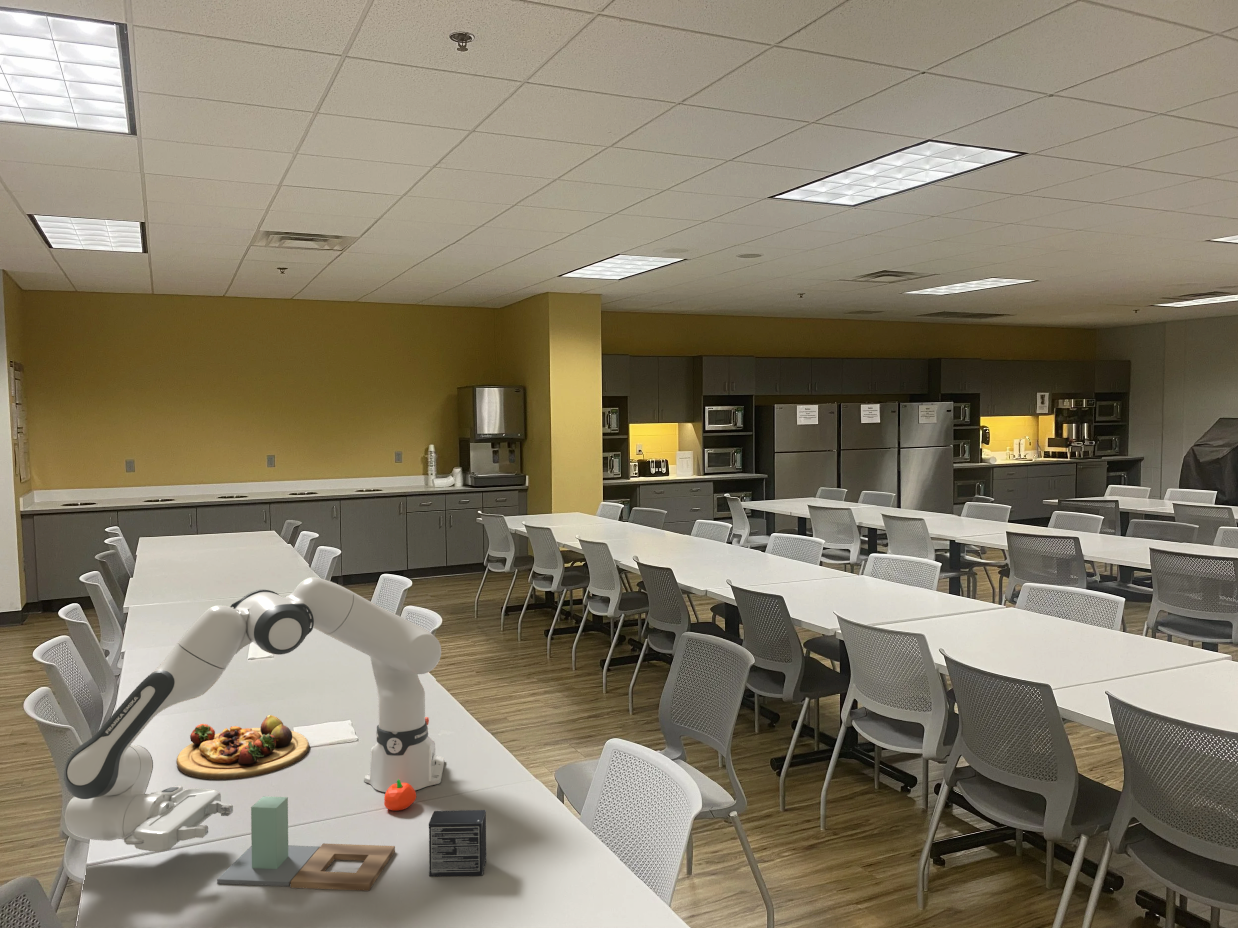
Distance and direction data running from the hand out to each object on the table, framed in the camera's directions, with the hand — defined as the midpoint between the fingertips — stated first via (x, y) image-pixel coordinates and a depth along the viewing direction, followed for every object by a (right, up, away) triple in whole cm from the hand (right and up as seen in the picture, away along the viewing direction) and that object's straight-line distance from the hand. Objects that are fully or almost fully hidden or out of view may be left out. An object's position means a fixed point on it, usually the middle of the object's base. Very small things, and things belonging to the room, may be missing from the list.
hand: (219, 820), depth 171 cm
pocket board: (+25, -9, -1) cm, 27 cm away
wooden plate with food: (-20, -7, +58) cm, 62 cm away
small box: (+47, -9, 0) cm, 48 cm away
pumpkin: (+29, -8, +27) cm, 40 cm away
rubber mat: (+10, -9, 0) cm, 13 cm away
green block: (+10, -8, 0) cm, 13 cm away
